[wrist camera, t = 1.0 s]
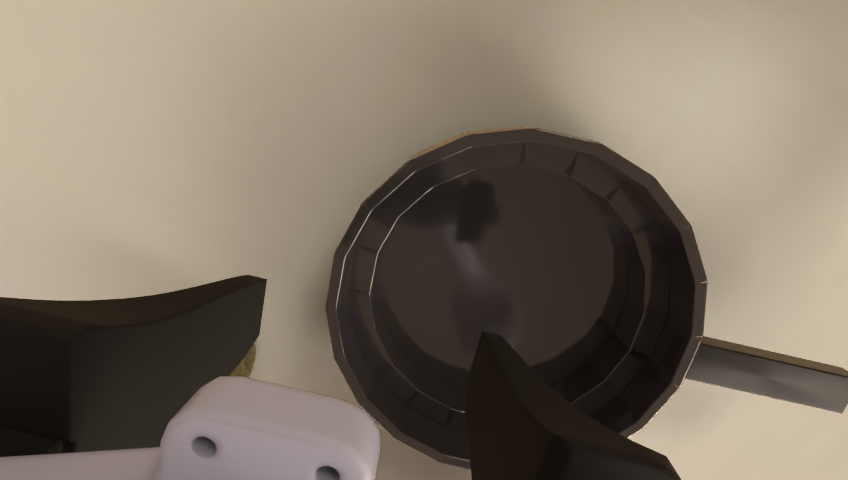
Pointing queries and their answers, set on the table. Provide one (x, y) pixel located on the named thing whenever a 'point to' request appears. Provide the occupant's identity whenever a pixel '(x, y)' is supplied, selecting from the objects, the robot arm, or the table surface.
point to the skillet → (515, 283)
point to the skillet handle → (770, 375)
